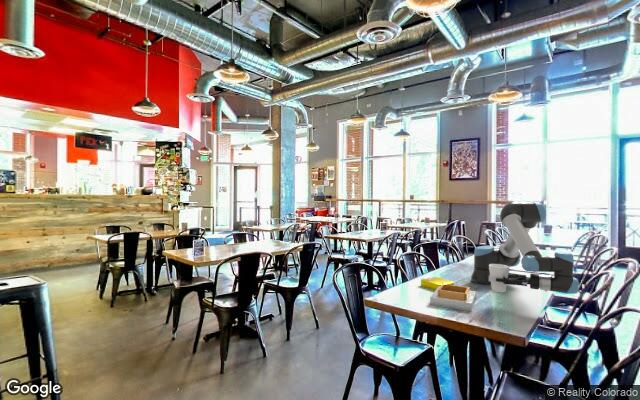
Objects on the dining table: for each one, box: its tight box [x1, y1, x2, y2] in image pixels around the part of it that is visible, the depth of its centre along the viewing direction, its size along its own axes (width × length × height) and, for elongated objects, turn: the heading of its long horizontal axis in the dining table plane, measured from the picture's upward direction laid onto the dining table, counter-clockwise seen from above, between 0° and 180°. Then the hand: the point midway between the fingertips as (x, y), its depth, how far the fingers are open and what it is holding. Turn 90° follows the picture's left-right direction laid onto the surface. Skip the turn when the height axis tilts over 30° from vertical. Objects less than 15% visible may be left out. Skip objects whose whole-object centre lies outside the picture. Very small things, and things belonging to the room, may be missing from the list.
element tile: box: [420, 276, 455, 292], centre depth 214 cm, size 15×15×5 cm
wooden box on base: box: [429, 284, 477, 312], centre depth 185 cm, size 24×20×7 cm
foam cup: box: [489, 264, 510, 293], centre depth 179 cm, size 10×9×13 cm
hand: (489, 276), depth 182 cm, fingers closed on foam cup, 9 cm apart
